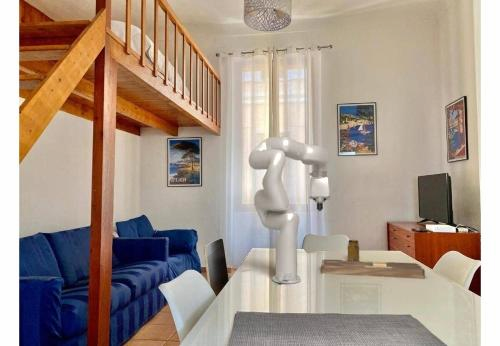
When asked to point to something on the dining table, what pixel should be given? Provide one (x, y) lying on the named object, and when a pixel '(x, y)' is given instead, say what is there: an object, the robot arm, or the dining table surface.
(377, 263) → the block
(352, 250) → the condiment
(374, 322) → the dining table surface
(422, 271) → the box
